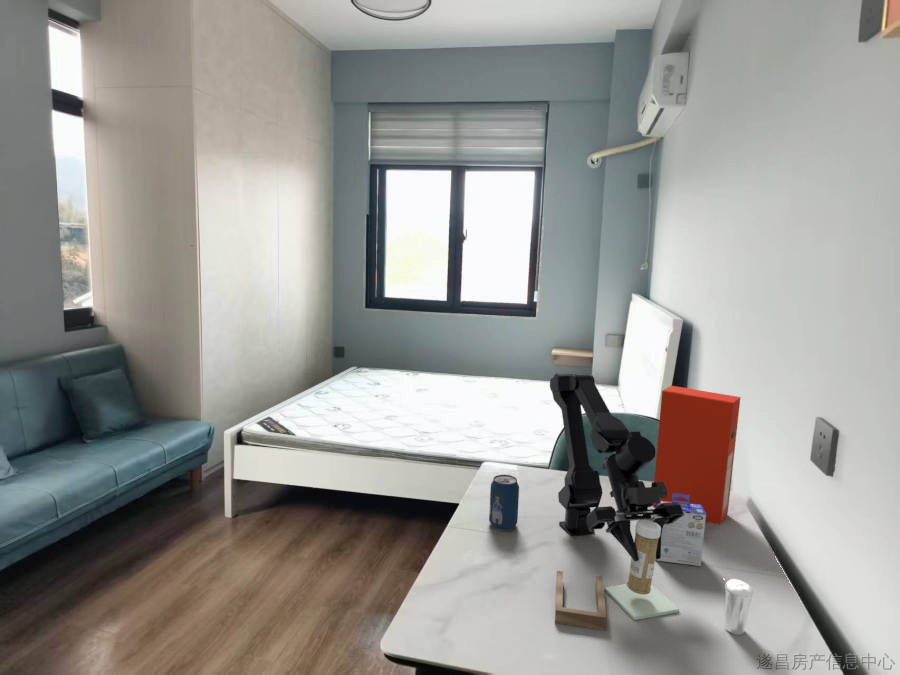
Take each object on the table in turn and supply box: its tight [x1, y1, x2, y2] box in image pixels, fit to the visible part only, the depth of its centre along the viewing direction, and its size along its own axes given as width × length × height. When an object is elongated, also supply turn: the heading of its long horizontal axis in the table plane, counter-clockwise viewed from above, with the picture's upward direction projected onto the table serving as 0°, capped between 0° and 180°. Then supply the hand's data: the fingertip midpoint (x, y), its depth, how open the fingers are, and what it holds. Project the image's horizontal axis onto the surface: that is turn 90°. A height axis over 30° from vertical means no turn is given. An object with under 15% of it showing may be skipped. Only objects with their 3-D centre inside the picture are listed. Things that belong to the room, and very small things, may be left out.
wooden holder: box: [554, 570, 608, 631], centre depth 114 cm, size 14×9×2 cm, turn 169°
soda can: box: [488, 474, 520, 532], centre depth 144 cm, size 7×7×12 cm
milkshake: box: [723, 578, 754, 636], centre depth 107 cm, size 4×5×10 cm
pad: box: [603, 583, 680, 621], centre depth 116 cm, size 10×10×1 cm
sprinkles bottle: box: [626, 520, 661, 595], centre depth 115 cm, size 5×5×14 cm
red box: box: [652, 385, 741, 526], centre depth 155 cm, size 8×17×32 cm, turn 52°
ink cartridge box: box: [655, 493, 707, 567], centre depth 132 cm, size 10×6×14 cm, turn 78°
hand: (647, 559), depth 113 cm, fingers closed on sprinkles bottle, 4 cm apart
